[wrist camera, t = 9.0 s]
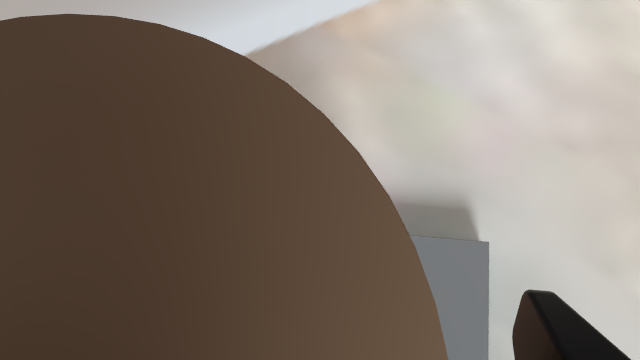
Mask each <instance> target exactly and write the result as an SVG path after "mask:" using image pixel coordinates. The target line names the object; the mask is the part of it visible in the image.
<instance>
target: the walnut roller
mask: <svg viewBox="0 0 640 360" xmlns="http://www.w3.org/2000/svg"><path fill="white" fill-rule="evenodd" d="M0 360H448V356H447V351H446V347H445V342H444V338H443V333H442V329H441V324H440V320H439V316H438V311H437V307H436V303H435V300H434V297H433V294H432V292H431V289H430V286H429V283H428V281H427V278H426V275H425V272H424V269H423V267H422V264H421V261H420V258H419V256H418V253H417V250H416V247H415V245H414V243H413V241H412V239H411V237H410V235H409V234H408V232H407V230H406V228H405V226H404V224H403V222H402V220H401V218H400V216H399V214H398V212H397V210H396V208H395V206H394V204H393V202H392V201H391V199H390V197H389V195H388V194H387V192H386V191H385V189H384V188H383V186H382V185H381V184H380V182H379V181H378V179H377V178H376V176H375V175H374V173H373V172H372V171H371V169H370V168H369V166H368V165H367V163H366V162H365V161H364V159H363V158H362V156H361V155H360V153H359V152H358V151H357V150H356V149H355V147H354V146H353V145H352V144H351V143H350V142H349V141H348V140H347V139H346V138H345V137H344V135H343V134H342V133H341V132H340V131H339V130H338V129H337V128H336V127H335V126H334V125H333V123H332V122H331V121H330V120H329V119H328V118H327V117H326V116H325V115H324V114H323V113H322V112H321V111H320V110H319V109H317V108H316V107H315V106H314V105H313V104H311V103H310V102H309V101H308V100H307V99H305V98H304V97H303V96H302V95H301V94H299V93H298V92H297V91H296V90H295V89H293V88H292V87H291V86H290V85H289V84H287V83H286V82H285V81H283V80H281V79H280V78H278V77H277V76H275V75H273V74H272V73H270V72H269V71H267V70H266V69H264V68H262V67H261V66H259V65H258V64H256V63H254V62H253V61H251V60H250V59H248V58H246V57H245V56H242V55H240V54H238V53H236V52H234V51H231V50H229V49H227V48H225V47H223V46H221V45H218V44H216V43H214V42H212V41H210V40H207V39H205V38H203V37H199V36H196V35H193V34H190V33H187V32H183V31H180V30H177V29H174V28H170V27H167V26H164V25H161V24H156V23H150V22H144V21H139V20H133V19H127V18H121V17H116V16H100V15H80V14H59V15H44V16H30V17H19V18H13V19H8V20H2V21H0Z"/></svg>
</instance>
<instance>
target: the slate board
mask: <svg viewBox="0 0 640 360" xmlns="http://www.w3.org/2000/svg"><path fill="white" fill-rule="evenodd" d="M410 237H411V239H412V241H413V243H414V245H415V247H416V250H417V253H418V256H419V258H420V261H421V264H422V267H423V269H424V272H425V275H426V278H427V281H428V283H429V286H430V289H431V292H432V294H433V297H434V300H435V303H436V307H437V311H438V316H439V320H440V324H441V329H442V333H443V338H444V342H445V347H446V351H447V356H448V360H488V316H489V242H483V241H471V240H459V239H447V238H435V237H423V236H411V235H410Z"/></svg>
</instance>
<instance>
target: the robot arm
mask: <svg viewBox="0 0 640 360" xmlns="http://www.w3.org/2000/svg"><path fill="white" fill-rule="evenodd" d="M512 339H513V349H514V356H515V360H631V359H630V358H629V357H627V356H626V355H625V354H624V353H623V352H622V351H621V350H619V349H618V348H617V347H616V346H615V345H614V344H612V343H611V342H610V341H609V340H608V339H607V338H606V337H604V336H603V335H602V334H601V333H600V332H599V331H598V330H596V329H595V328H594V327H593V326H592V325H591V324H589V323H588V322H587V321H586V320H585V319H584V318H583V317H581V316H580V315H579V314H578V313H577V312H576V311H575V310H573V309H572V308H571V307H570V306H569V305H568V304H566V303H565V302H564V301H563V300H562V299H561V298H560V297H558V296H557V295H556V294H555V293H553V292H550V291H541V290H527V291H525V292H524V294H523V295H522V298H521V302H520V305H519V309H518V313H517V316H516V320H515V323H514V327H513V336H512Z"/></svg>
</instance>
